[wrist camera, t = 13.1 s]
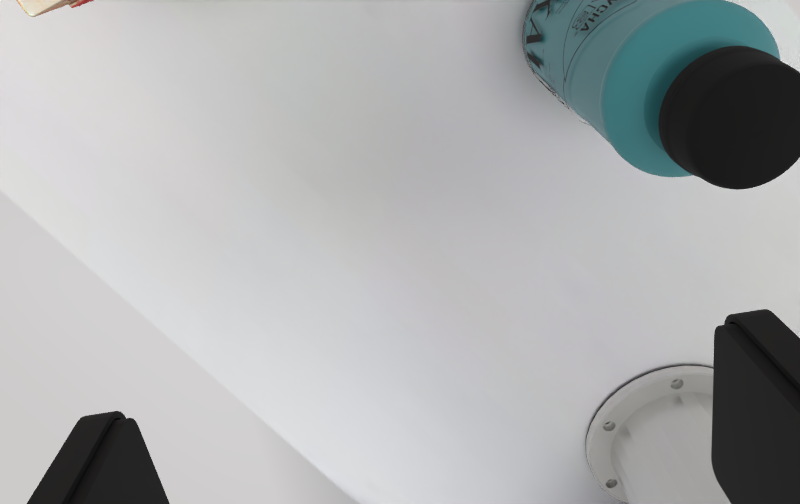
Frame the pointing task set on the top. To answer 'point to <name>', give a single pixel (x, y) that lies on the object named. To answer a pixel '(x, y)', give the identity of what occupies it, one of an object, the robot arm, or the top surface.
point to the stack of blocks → (47, 5)
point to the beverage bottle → (673, 84)
